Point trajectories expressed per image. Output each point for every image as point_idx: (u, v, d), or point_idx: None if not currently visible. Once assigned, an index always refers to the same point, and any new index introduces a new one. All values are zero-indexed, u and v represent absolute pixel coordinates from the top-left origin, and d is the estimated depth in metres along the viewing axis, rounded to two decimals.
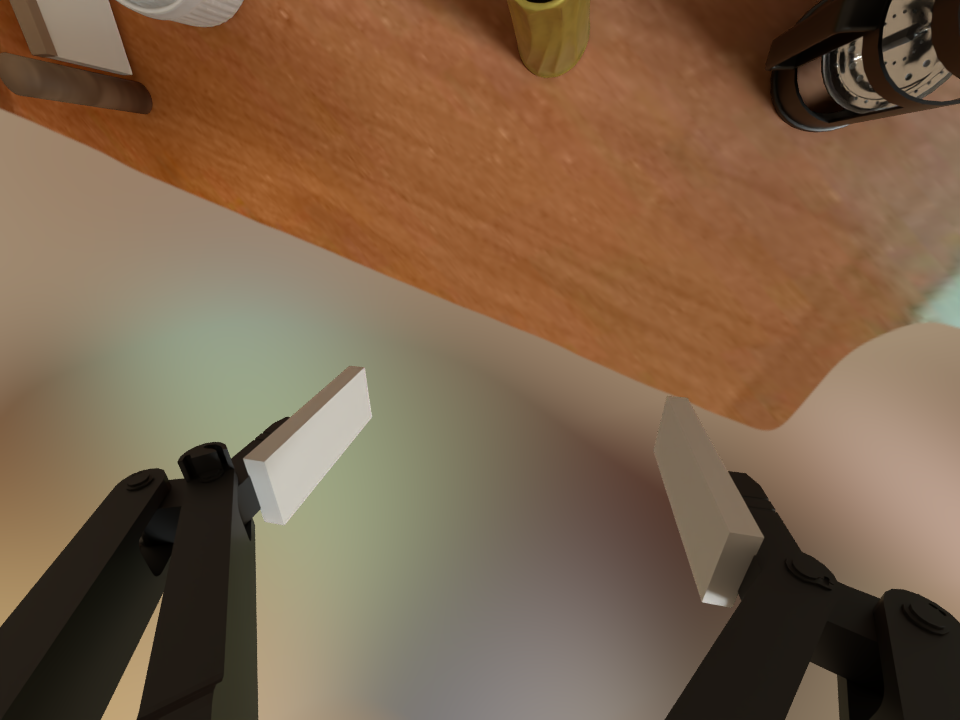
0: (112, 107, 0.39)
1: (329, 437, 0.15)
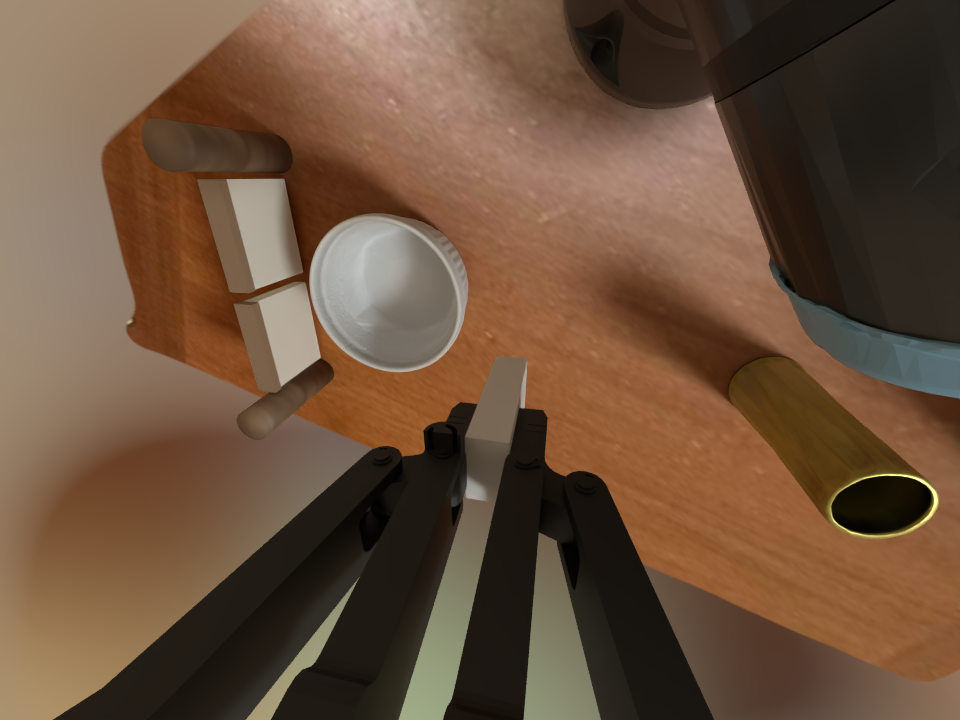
0: None
1: None
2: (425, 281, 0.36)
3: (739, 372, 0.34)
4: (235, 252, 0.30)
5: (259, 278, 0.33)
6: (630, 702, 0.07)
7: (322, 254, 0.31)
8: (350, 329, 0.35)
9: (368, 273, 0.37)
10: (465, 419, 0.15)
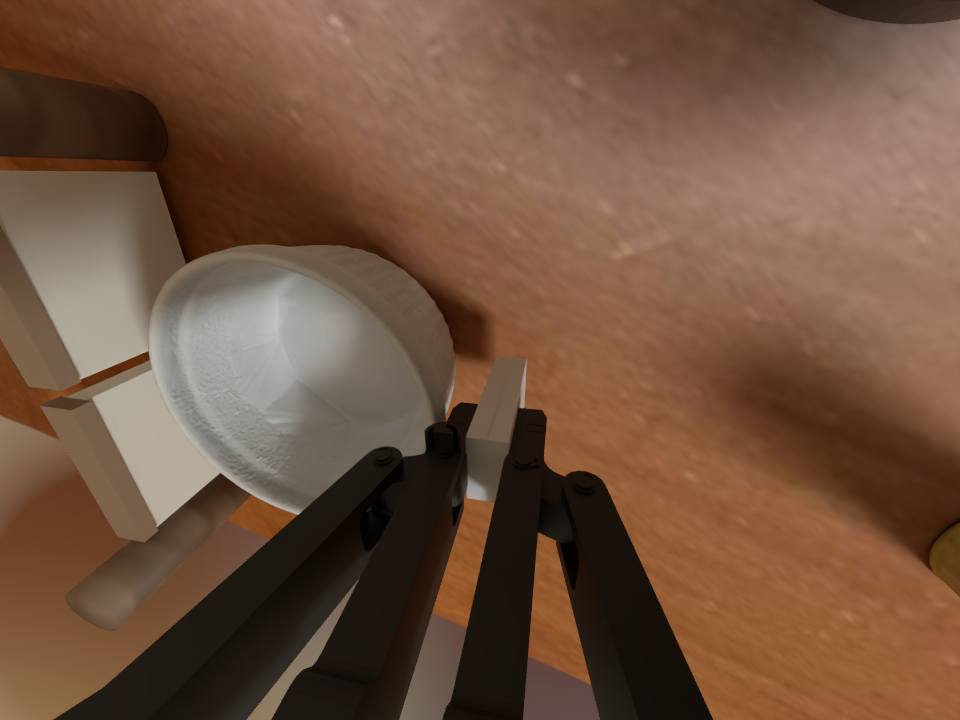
0: None
1: None
2: (383, 351, 0.21)
3: None
4: (17, 319, 0.15)
5: (94, 355, 0.18)
6: (629, 702, 0.07)
7: (170, 319, 0.16)
8: (250, 436, 0.20)
9: (288, 333, 0.22)
10: (466, 419, 0.15)
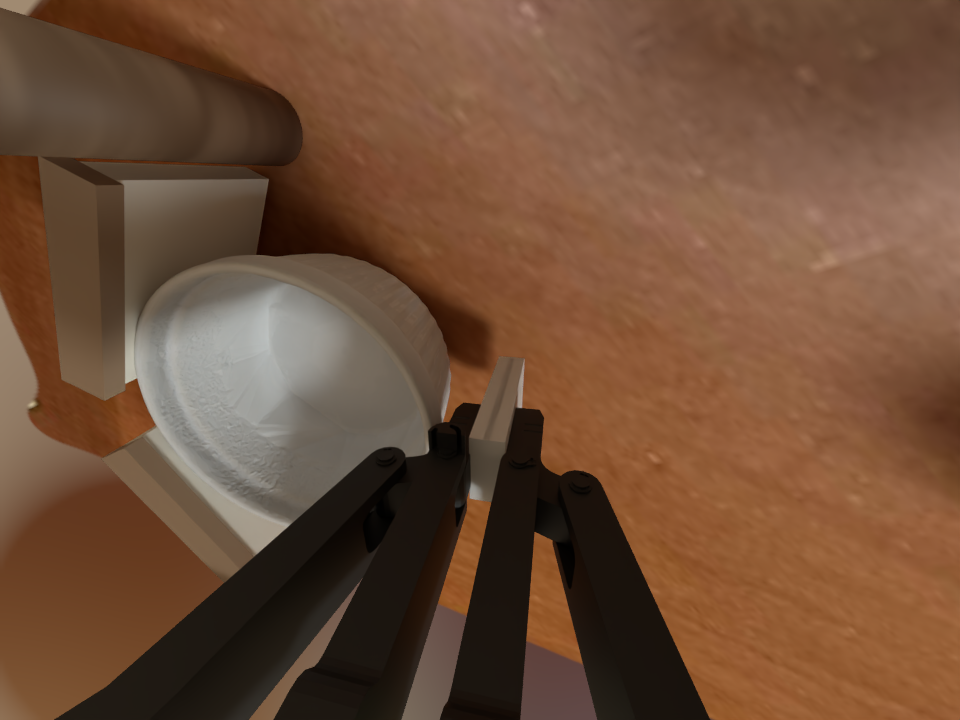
0: None
1: None
2: (376, 358, 0.20)
3: None
4: (97, 330, 0.13)
5: None
6: (626, 700, 0.07)
7: (156, 335, 0.15)
8: (243, 450, 0.20)
9: (279, 344, 0.21)
10: (469, 420, 0.15)
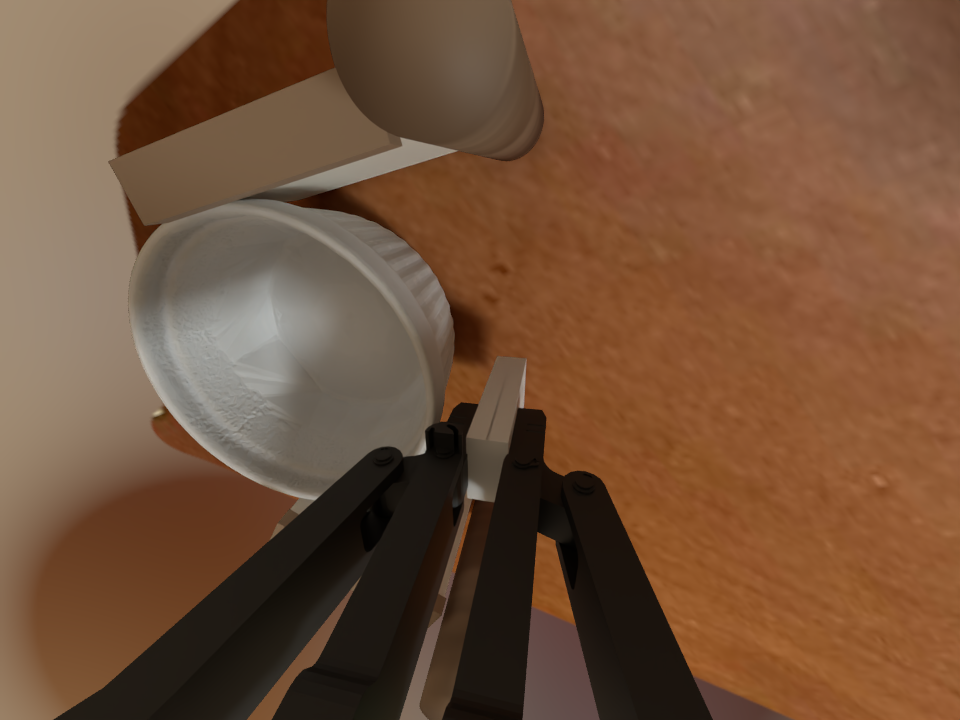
0: None
1: None
2: (380, 334, 0.20)
3: None
4: (223, 192, 0.11)
5: None
6: (629, 702, 0.07)
7: (167, 249, 0.14)
8: (215, 385, 0.19)
9: (282, 286, 0.20)
10: (466, 419, 0.15)
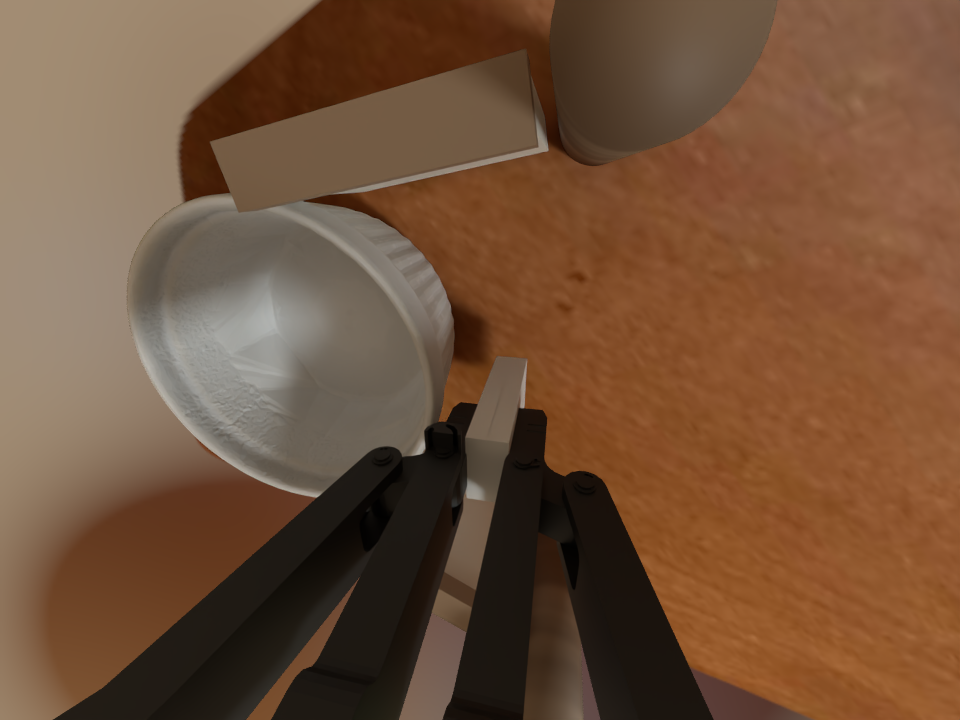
0: None
1: None
2: (379, 332, 0.20)
3: None
4: (335, 183, 0.10)
5: None
6: (630, 702, 0.07)
7: (168, 239, 0.14)
8: (211, 377, 0.19)
9: (282, 280, 0.20)
10: (465, 419, 0.15)
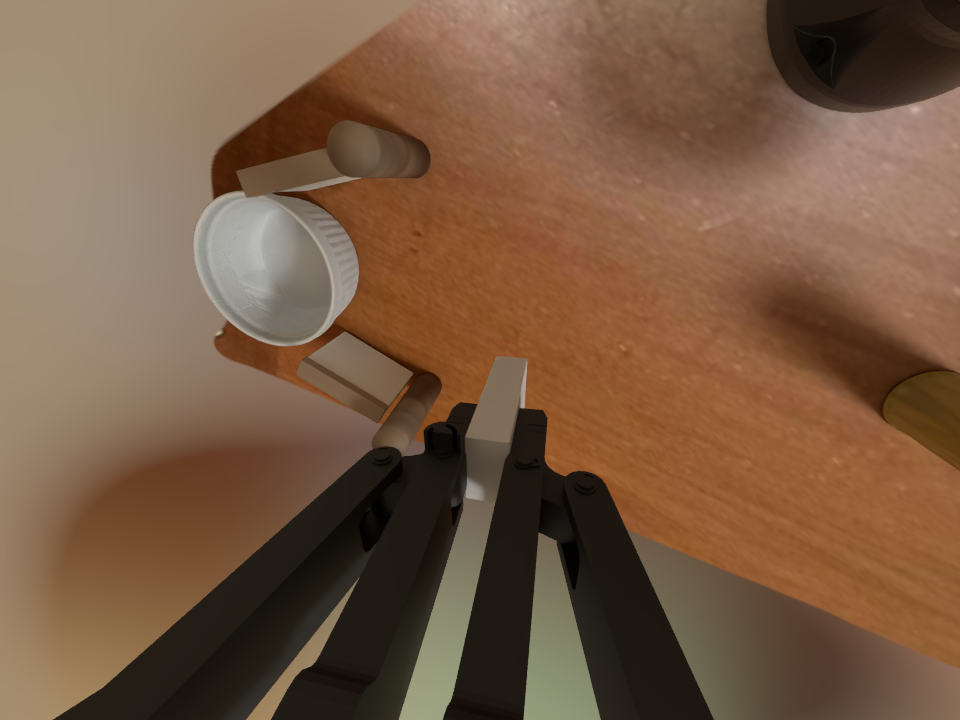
0: None
1: None
2: (320, 266, 0.37)
3: (900, 387, 0.32)
4: (282, 186, 0.27)
5: None
6: (630, 702, 0.07)
7: (214, 211, 0.31)
8: (230, 286, 0.36)
9: (267, 238, 0.37)
10: (465, 419, 0.15)
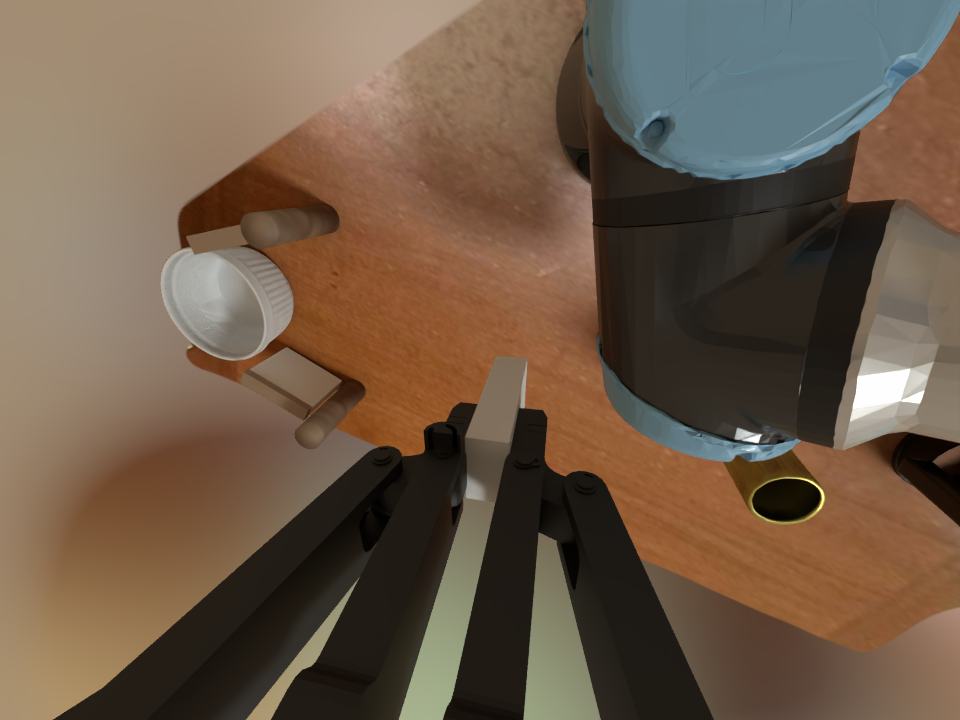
0: None
1: None
2: None
3: None
4: (219, 247, 0.37)
5: None
6: (630, 702, 0.07)
7: (175, 260, 0.41)
8: (191, 314, 0.46)
9: (222, 275, 0.47)
10: (465, 419, 0.15)
